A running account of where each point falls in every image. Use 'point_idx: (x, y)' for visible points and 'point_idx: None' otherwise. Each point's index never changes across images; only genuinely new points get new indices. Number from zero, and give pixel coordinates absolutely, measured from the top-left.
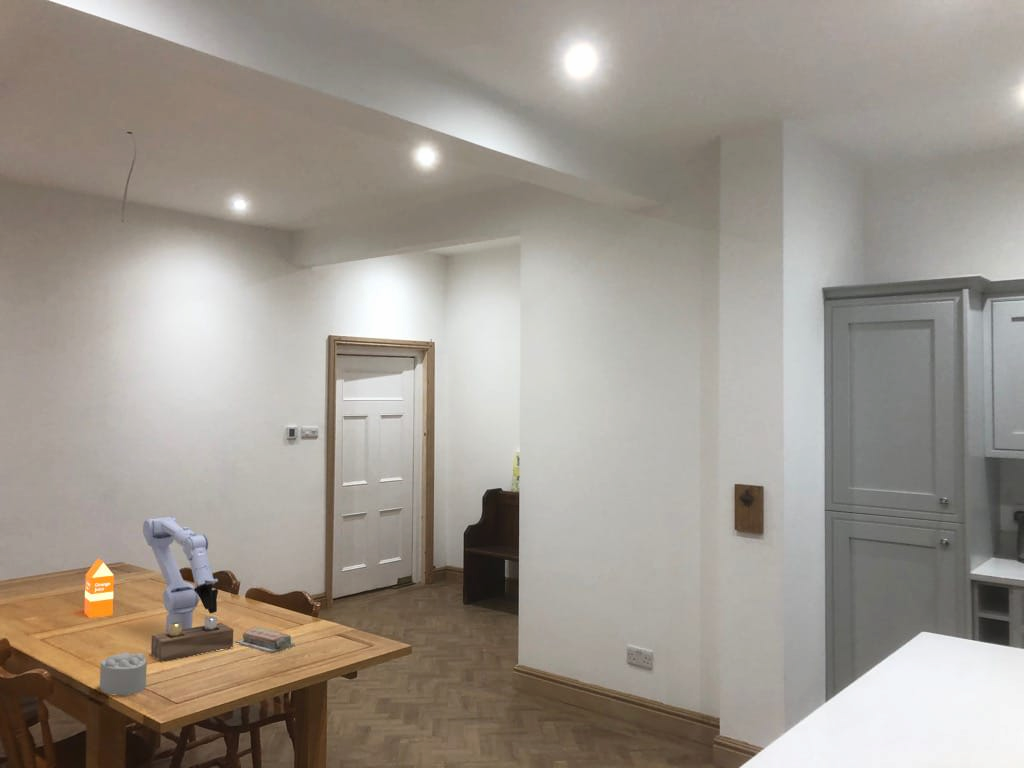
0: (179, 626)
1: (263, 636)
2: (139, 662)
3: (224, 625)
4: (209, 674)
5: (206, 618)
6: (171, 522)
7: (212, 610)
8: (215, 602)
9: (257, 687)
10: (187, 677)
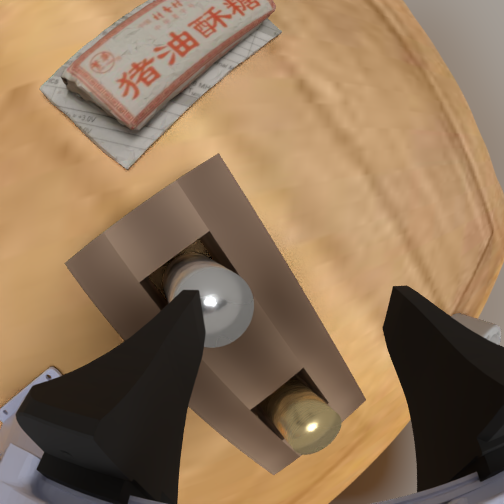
0: (330, 408)
1: (228, 32)
2: (495, 335)
3: (125, 226)
4: (422, 203)
5: (224, 335)
6: None
7: (198, 325)
8: (173, 335)
9: (461, 105)
10: (430, 252)
